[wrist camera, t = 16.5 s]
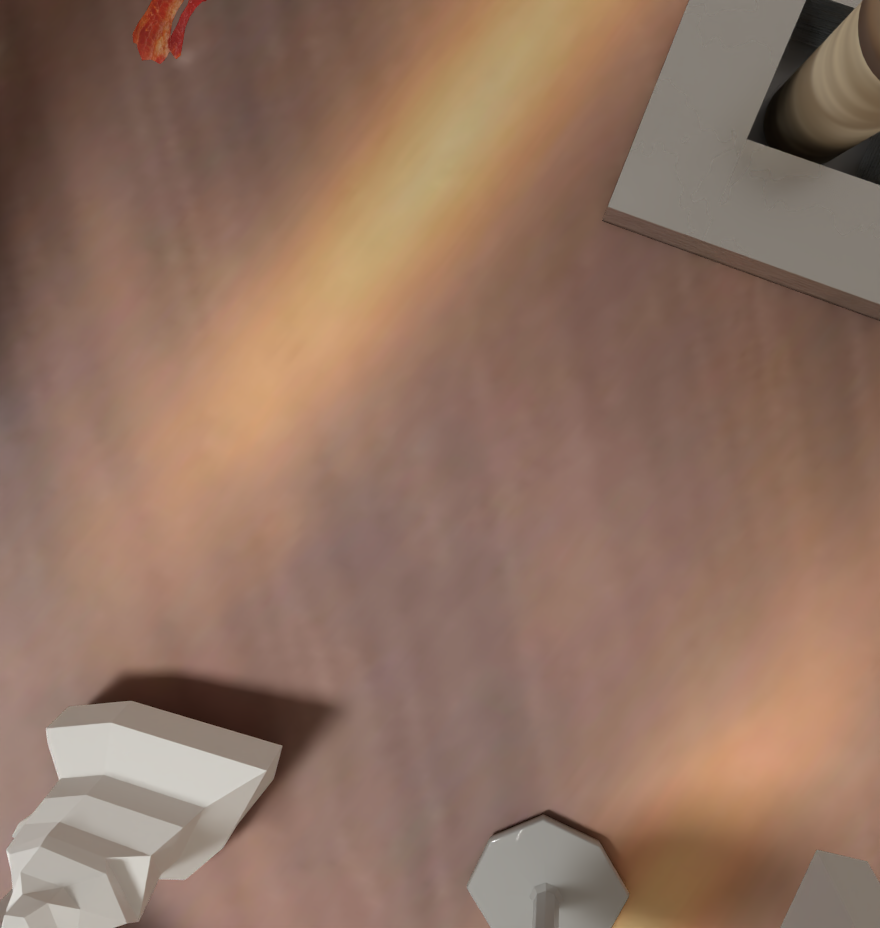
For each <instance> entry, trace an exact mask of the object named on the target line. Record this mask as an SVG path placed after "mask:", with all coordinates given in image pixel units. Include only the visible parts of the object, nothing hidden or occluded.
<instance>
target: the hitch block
mask: <svg viewBox="0 0 880 928" xmlns="http://www.w3.org/2000/svg"><path fill="white" fill-rule="evenodd" d="M861 2H862V0H689V2H688V4H687V7H686V9H685V12H684V14H683V17H682V19H681V22H680V25H679V27H678V30H677V32H676V35H675V37H674V40H673V42H672V45H671V47H670V50H669V52H668V55H667V58H666V60H665V63H664V65H663V68H662V70H661V73H660V75H659V78H658V80H657V83H656V85H655V88H654V90H653V93H652V96H651V98H650V101H649V103H648V106H647V108H646V111H645V113H644V116H643V118H642V121H641V123H640V126H639V129H638V131H637V134H636V136H635V139H634V141H633V144H632V146H631V149H630V151H629V154H628V156H627V159H626V162H625V164H624V167H623V169H622V172H621V174H620V177H619V179H618V182H617V184H616V187H615V189H614V192H613V195H612V197H611V200H610V202H609V205H608V207H607V210H606V212H605V215H604V217H603V220H602V221H604V222H607V223H610V224H613V225H615V226H618V227H621V228H624V229H626V230H629V231H632V232H635V233H638V234H640V235H643V236H646V237H649V238H651V239H654V240H657V241H660V242H662V243H665V244H668V245H671V246H674V247H676V248H679V249H682V250H685V251H687V252H690V253H693V254H696V255H699V256H701V257H704V258H707V259H710V260H712V261H715V262H718V263H721V264H723V265H726V266H729V267H732V268H735V269H737V270H740V271H743V272H746V273H748V274H751V275H754V276H757V277H760V278H762V279H765V280H768V281H771V282H773V283H776V284H779V285H782V286H785V287H787V288H790V289H793V290H796V291H798V292H801V293H804V294H807V295H809V296H812V297H815V298H818V299H821V300H823V301H826V302H829V303H832V304H834V305H837V306H840V307H843V308H846V309H848V310H851V311H854V312H857V313H859V314H862V315H865V316H868V317H871V318H873V319H876V320H879V321H880V132H878V133H876V134H875V135H873V136H871V137H869V138H868V139H866V140H864V141H863V142H861V143H859V144H858V145H856V146H854V147H852V148H851V149H849V150H847V151H846V152H844V153H842V154H841V155H839V156H837V157H835V158H834V159H832V160H830V161H828V162H826V163H824V164H821V165H820V164H817V163H814V162H811V161H808V160H806V159H803V158H800V157H797V156H794V155H791V154H788V153H785V152H782V151H780V150H777V149H774V148H771V147H769V145H768V143H767V141H766V138H765V133H764V117H765V113H766V109H767V107H768V104H769V102H770V100H771V99H772V97H773V96H774V94H775V93H776V92H777V91H778V90H779V88H780V87H781V86H782V85H783V84H784V83H785V82H786V81H787V80H788V79H789V78H790V77H791V76H792V75H793V74H794V73H795V71H796V70H797V69H798V68H799V67H800V66H801V65H802V64H803V63H804V62H805V61H806V60H807V59H808V58H809V57H810V56H811V55H812V53H813V52H814V51H815V50H816V49H817V48H818V47H819V46H820V45H821V44H822V43H823V42H824V41H825V40H826V39H827V38H828V37H829V35H830V34H831V33H832V32H833V31H834V30H835V29H836V28H837V27H838V26H839V25H840V24H841V23H842V22H843V21H844V20H845V18H846V17H847V16H848V15H849V14H850V13H851V12H852V11H853V10H854V9H855V8H856V7H857V6H858V5H859V4H860V3H861Z"/></svg>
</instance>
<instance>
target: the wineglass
mask: <svg viewBox="0 0 880 928" xmlns="http://www.w3.org/2000/svg"><path fill="white" fill-rule="evenodd" d="M467 889H468V891H469V892H470V894H471V896H472V897H473V899H474V901H475V902H476V904H477V906H478V907H479V909H480V910H481V912H482V914H483V915H484V917H485V919H486V920H487V922H488V924H489V925H490V927H491V928H611V927H612V926H613V924H614V922H615V920H616V918H617V917H618V915H619V913H620V911H621V910H622V908H623V906H624V904H625V903H626V901H627V899H628V897H629V892H628V890H627V888H626V886H625V884H624V883H623V881H622V879H621V878H620V876H619V874H618V872H617V871H616V869H615V867H614V866H613V864H612V862H611V860H610V859H609V857H608V855H607V854H606V852H605V850H604V849H603V847H602V845H601V843H600V842H599V840H597V839H595V838H593V837H591V836H589V835H586V834H584V833H582V832H580V831H578V830H576V829H574V828H571V827H569V826H567V825H565V824H563V823H561V822H559V821H556V820H554V819H552V818H550V817H548V816H546V815H544V814H543V815H540V816H538V817H535V818H533V819H531V820H528V821H526V822H523V823H521V824H519V825H516V826H514V827H511V828H509V829H506V830H504V831H502V832H499V833H497V834H494V835H492V836H491V837H490V839H489V841H488V843H487V845H486V847H485V849H484V851H483V853H482V855H481V857H480V859H479V861H478V863H477V865H476V867H475V869H474V871H473V873H472V875H471V877H470V879H469V881H468V883H467Z"/></svg>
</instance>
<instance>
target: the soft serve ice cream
mask: <svg viewBox="0 0 880 928" xmlns="http://www.w3.org/2000/svg"><path fill="white" fill-rule="evenodd" d="M46 734H47V742H48V746H49V749H50V752H51V756H52V759H53V762H54V765H55V768H56V772H57V775H58V778H59V781H58V782H57V784H56V785H55V786H54V787H53V789H52V790H51V791H50V792H49V794H48V795H47V796H46V797H45V799H44V800H43V801H42V802H41V804H40V805H39V806H38V807H37V809H36V810H35V811H34V812H33V813H32V814H31V815H30V816H28V817H27V818H25V819H24V820H22V821H21V822H20V823H19V824H18V826H17V828H16V830H15V832H14V833H13V835H12V837H14V839H13V841H12V842H11V843H10V845H9V846H8V848H7V849H6V851H7V856H8V860H9V865H10V869H11V876H12V888H13V893H12V896H11V898H10V901H9V904H8V906H7V909H6V914H5V915H4V918H3V922H2V927H1V928H115V927H118V926H121V925H124V924H127V923H134V922H139V920H140V918H141V916H142V914H143V912H144V910H145V908H146V905H147V903H148V901H149V899H150V897H151V895H152V893H153V891H154V888H155V886H156V884H157V882H158V880H159V879H169V880H186V879H187V878H188V877H189V876H190V875H192V874H193V873H194V872H195V871H196V870H198V869H199V868H200V867H201V866H202V865H203V864H205V863H206V862H207V861H208V860H209V859H211V858H212V857H213V856H214V855H215V854H217V853H218V852H219V851H220V850H221V849H223V847H224V846H225V844H226V842H227V841H228V839H229V838H230V836H231V834H232V833H233V831H234V830H235V828H236V826H237V825H238V823H239V822H240V821H241V820H242V818H243V817H244V816H245V815H246V813H247V812H248V811H249V810H250V808H251V807H252V806H253V805H254V803H255V802H256V801H257V800H258V798H259V797H260V796H261V795H262V793H263V792H264V791H265V790H266V788H267V787H268V786H269V785H270V783H271V782H272V781H273V779H274V776H275V772H276V769H277V765H278V761H279V758H280V754H281V750H282V745H278V744H275V743H272V742H268V741H265V740H262V739H258V738H255V737H252V736H248V735H245V734H241V733H238V732H235V731H231V730H228V729H225V728H221V727H218V726H215V725H211V724H208V723H204V722H201V721H198V720H194V719H191V718H188V717H184V716H181V715H178V714H174V713H171V712H167V711H164V710H161V709H157V708H154V707H151V706H147V705H144V704H141V703H137V702H134V701H122V702H112V703H101V704H91V705H80V706H69V707H68V708H67V709H65V710H64V711H63V712H62V713H61V714H60V715H59V716H58V717H57V718H56V719H55V720H54V721H53V722H52V723H51V724H50V725H49V726H48V727H47V728H46Z"/></svg>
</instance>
